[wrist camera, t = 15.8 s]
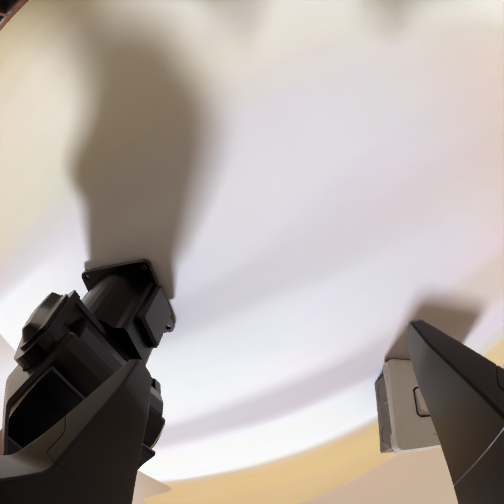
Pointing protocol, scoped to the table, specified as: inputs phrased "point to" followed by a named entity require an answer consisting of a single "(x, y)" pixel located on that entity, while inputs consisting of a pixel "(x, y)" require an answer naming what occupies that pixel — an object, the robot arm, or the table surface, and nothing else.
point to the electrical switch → (403, 411)
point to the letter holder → (9, 10)
